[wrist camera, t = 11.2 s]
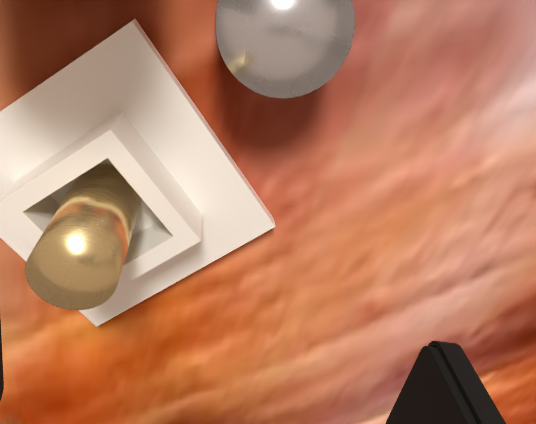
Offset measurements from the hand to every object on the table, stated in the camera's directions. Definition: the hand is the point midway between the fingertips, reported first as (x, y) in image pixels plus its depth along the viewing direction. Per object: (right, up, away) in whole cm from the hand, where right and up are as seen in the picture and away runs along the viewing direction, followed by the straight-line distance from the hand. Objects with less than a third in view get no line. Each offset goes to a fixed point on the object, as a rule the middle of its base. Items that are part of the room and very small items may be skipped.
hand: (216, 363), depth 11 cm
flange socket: (-9, +5, +22) cm, 25 cm away
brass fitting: (-9, +4, +21) cm, 23 cm away
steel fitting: (+1, +15, +18) cm, 23 cm away
